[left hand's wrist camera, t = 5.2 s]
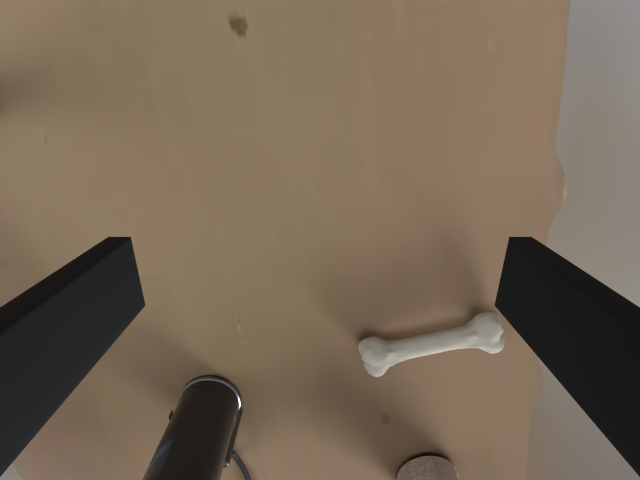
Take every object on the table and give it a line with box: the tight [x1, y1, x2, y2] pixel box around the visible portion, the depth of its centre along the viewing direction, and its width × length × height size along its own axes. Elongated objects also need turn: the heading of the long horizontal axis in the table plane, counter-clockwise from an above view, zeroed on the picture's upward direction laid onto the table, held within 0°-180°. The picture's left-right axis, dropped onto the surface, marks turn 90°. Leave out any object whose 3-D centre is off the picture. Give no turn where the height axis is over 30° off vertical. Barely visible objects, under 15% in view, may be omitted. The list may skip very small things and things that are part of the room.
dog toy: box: [358, 312, 504, 377], centre depth 50 cm, size 20×6×5 cm, turn 105°
